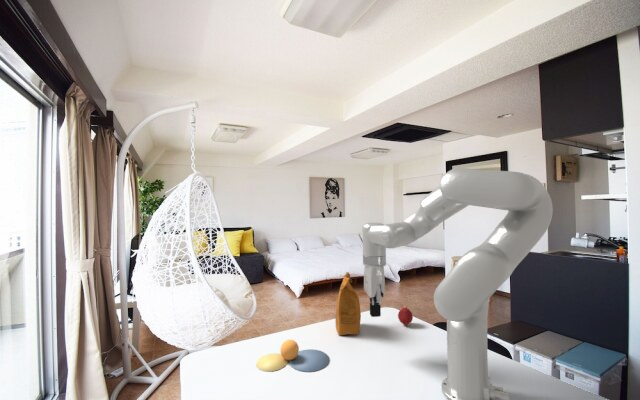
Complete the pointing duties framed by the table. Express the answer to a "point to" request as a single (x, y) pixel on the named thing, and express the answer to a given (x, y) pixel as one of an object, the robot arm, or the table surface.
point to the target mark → (310, 360)
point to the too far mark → (271, 362)
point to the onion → (405, 316)
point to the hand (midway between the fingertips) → (375, 315)
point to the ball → (289, 349)
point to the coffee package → (347, 309)
